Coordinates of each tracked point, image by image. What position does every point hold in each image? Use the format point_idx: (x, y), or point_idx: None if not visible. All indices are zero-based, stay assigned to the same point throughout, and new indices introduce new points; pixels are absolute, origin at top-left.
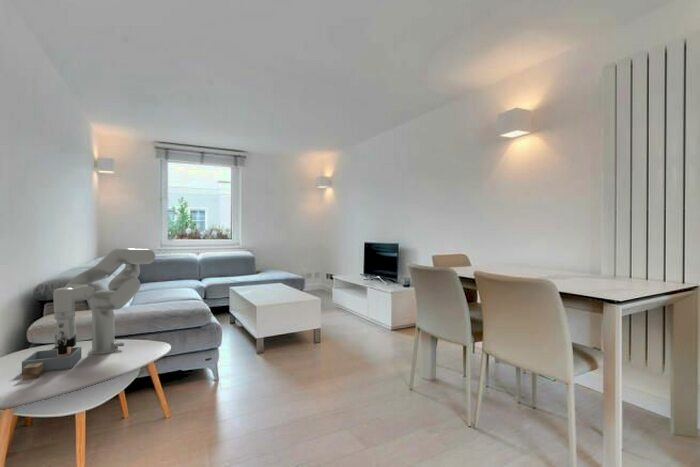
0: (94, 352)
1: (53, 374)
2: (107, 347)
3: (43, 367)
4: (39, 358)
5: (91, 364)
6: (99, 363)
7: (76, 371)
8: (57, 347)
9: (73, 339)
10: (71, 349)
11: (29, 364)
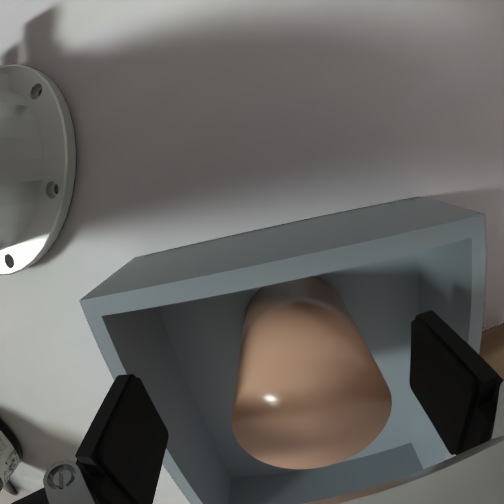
0: (48, 192)
1: (490, 266)
2: (6, 97)
3: None
4: (226, 490)
5: (334, 64)
6: (315, 11)
7: (474, 124)
8: (21, 454)
9: (103, 446)
10: (139, 376)
11: None
